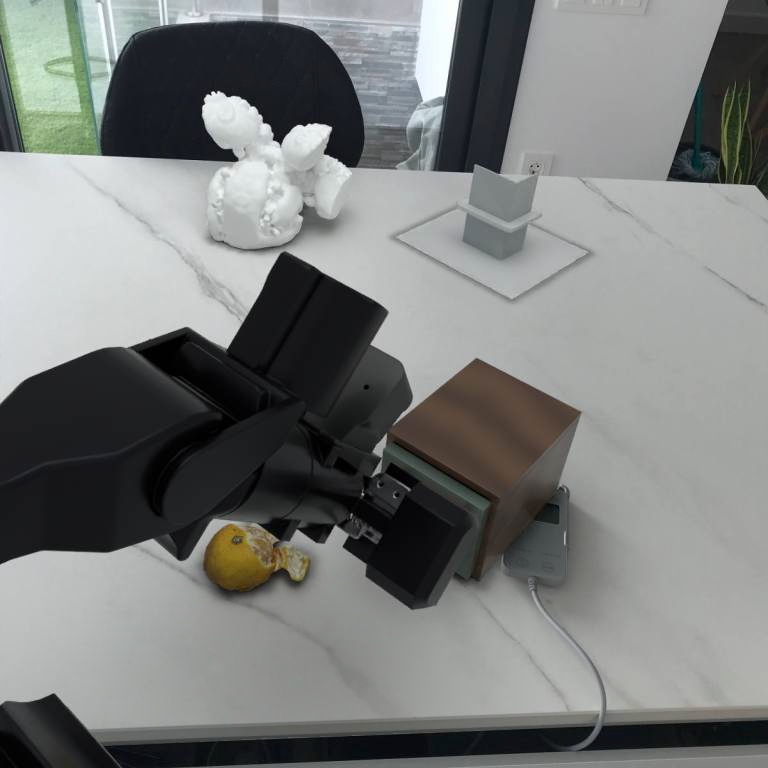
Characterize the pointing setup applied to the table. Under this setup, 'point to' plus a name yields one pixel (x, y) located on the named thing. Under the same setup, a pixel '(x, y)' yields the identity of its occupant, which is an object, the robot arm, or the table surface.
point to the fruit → (249, 557)
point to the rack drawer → (449, 488)
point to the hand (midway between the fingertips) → (380, 494)
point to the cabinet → (493, 446)
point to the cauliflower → (268, 176)
